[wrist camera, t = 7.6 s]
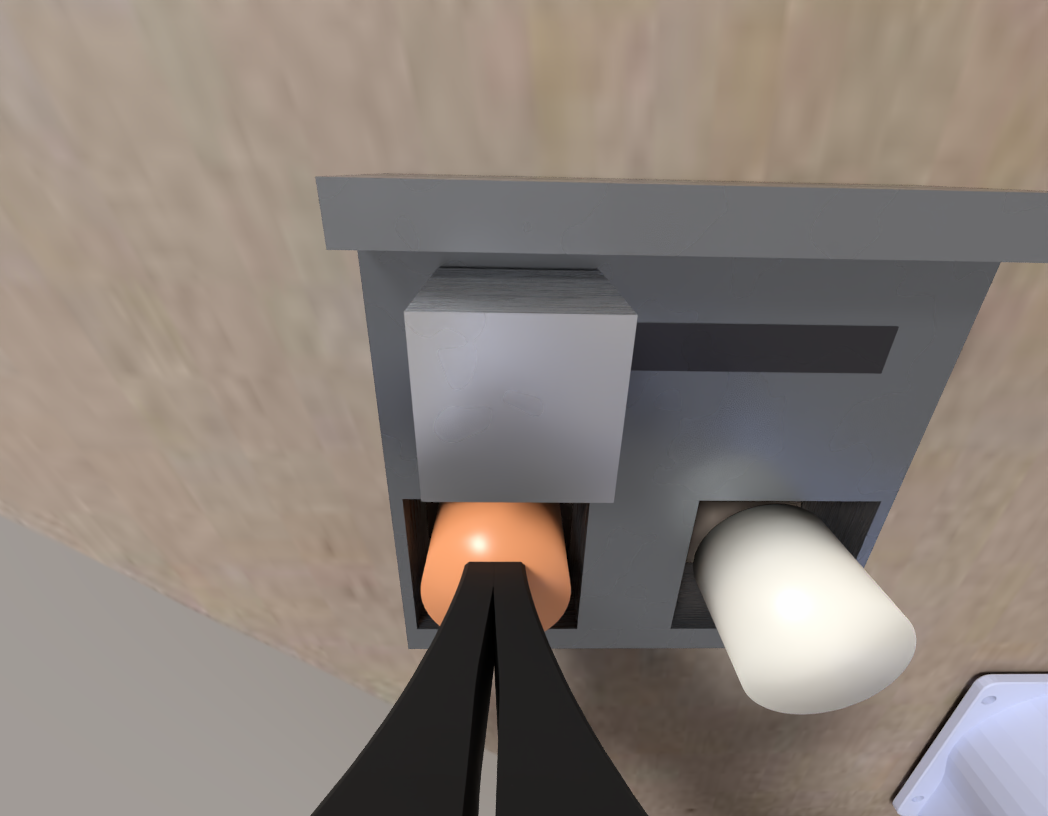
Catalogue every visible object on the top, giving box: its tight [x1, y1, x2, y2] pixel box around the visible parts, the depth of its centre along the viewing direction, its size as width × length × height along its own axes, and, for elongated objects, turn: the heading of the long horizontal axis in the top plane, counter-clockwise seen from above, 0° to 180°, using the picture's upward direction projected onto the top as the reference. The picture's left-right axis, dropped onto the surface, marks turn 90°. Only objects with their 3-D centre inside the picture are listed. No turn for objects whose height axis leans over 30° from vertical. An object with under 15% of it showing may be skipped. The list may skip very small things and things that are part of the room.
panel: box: [316, 174, 1048, 649], centre depth 11 cm, size 12×12×4 cm
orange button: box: [421, 502, 571, 632], centre depth 13 cm, size 4×4×3 cm
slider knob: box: [404, 268, 638, 503], centre depth 8 cm, size 3×3×3 cm
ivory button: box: [693, 504, 916, 714], centre depth 11 cm, size 4×4×3 cm
